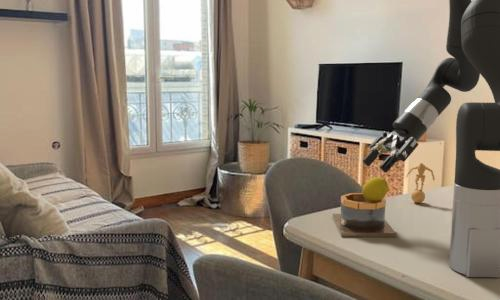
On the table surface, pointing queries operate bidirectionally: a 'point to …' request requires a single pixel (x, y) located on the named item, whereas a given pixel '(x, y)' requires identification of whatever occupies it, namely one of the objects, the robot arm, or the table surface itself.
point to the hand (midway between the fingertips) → (373, 166)
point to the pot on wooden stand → (362, 217)
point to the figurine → (419, 195)
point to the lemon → (375, 189)
